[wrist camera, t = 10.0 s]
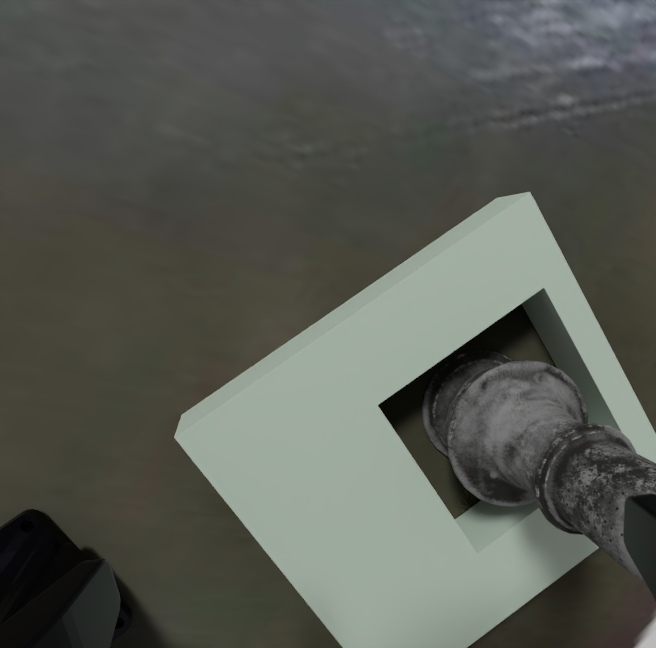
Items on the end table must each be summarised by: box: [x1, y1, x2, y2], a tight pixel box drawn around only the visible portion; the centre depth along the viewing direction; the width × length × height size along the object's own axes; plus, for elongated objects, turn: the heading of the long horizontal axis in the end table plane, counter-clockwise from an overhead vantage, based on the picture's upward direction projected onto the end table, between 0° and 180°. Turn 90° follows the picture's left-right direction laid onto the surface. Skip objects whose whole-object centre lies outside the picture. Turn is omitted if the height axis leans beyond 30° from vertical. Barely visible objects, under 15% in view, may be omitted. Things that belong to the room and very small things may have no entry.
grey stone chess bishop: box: [422, 349, 656, 580], centre depth 17 cm, size 6×6×12 cm
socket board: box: [174, 192, 656, 648], centre depth 21 cm, size 16×15×2 cm
